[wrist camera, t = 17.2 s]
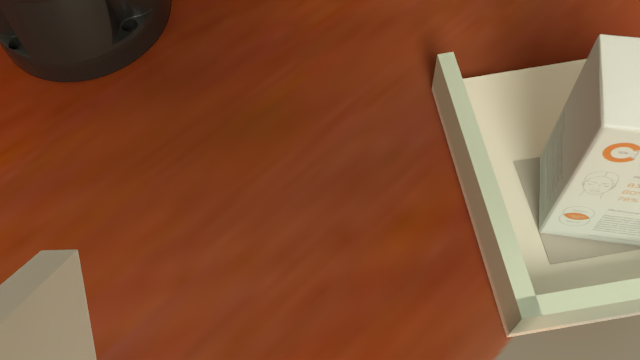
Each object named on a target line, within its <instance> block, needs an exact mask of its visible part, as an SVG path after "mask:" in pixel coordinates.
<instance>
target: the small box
mask: <svg viewBox="0 0 640 360" xmlns="http://www.w3.org/2000/svg"><path fill="white" fill-rule="evenodd" d="M539 232H540V233H546V234H553V235H561V236H568V237H575V238H583V239H591V240H598V241H605V242H613V243H621V244H629V245H637V246H640V38H639V37H628V36H616V35H606V34H599V36H598V38H597V40H596V41H595V43H594V45H593V47H592V49H591V52H590V54H589V56H588V58H587V60H586V62H585V64H584V66H583V68H582V70H581V72H580V74H579V76H578V78H577V80H576V83H575V85H574V87H573V89H572V91H571V93H570V95H569V97H568V99H567V101H566V103H565V105H564V107H563V109H562V111H561V113H560V115H559V117H558V120H557V122H556V124H555V126H554V128H553V130H552V132H551V134H550V136H549V139H548V141H547V143H546V145H545V147H544V149H543V151H542V153H541V155H540V196H539Z"/></svg>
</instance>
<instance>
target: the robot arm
mask: <svg viewBox="0 0 640 360" xmlns="http://www.w3.org/2000/svg"><path fill="white" fill-rule="evenodd" d="M170 8H171V0H0V45H1V46H2V48H3V49H4V50H5V52H6V53H7V54H8V55H9V57H10V58H11V59H12V61H13V62H14V63H15V64H16V65H17V66H18V67H20V68H21V69H22V70H24V71H25V72H27V73H29V74H31V75H33V76H35V77H38V78H41V79H45V80H50V81H57V82H76V81H85V80H90V79H94V78H98V77H101V76H105V75H107V74H110V73H112V72H115V71H117V70H119V69H121V68H123V67H125V66H127V65H128V64H130V63H132V62H133V61H135V60H136V59H137V58H139V57H140V56H141V55H143V54H144V53H145V52H146V51H147V50H148V49H149V48H150V47H151V46H152V45H153V44H154V43H155V42H156V40H157V39H158V38H159V36H160V35H161V33H162V32H163V30H164V28H165V26H166V24H167V21H168V18H169V14H170ZM0 360H97V359H96V354H95V348H94V342H93V336H92V330H91V324H90V318H89V312H88V307H87V301H86V295H85V289H84V283H83V277H82V271H81V265H80V260H79V254H78V250H44V251H40V252H39V253H38V254H37V255H35V256H34V257H33V258H32V259H31V260H30V261H28V262H27V263H26V264H25V265H24V266H22V267H21V268H20V269H19V270H18V271H16V272H15V273H14V274H13V275H12V276H11V277H9V278H8V279H7V280H6V281H5V282H3V283H2V284H1V285H0Z"/></svg>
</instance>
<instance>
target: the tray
mask: <svg viewBox="0 0 640 360" xmlns="http://www.w3.org/2000/svg"><path fill="white" fill-rule="evenodd" d="M586 60H587V59H583V60H576V61H570V62H564V63H558V64H552V65H545V66H539V67H533V68H527V69H521V70H514V71H508V72H502V73H496V74H490V75H483V76H477V77H471V78H465V79H462V76H461V73H460V70H459V67H458V64H457V61H456V58H455V55H454V52H450V53H443V54H437V60H436V66H435V72H434V78H433V84H432V93H433V96H434V100H435V103H436V106H437V110H438V113H439V116H440V120H441V123H442V126H443V129H444V133H445V136H446V139H447V143H448V146H449V149H450V153H451V156H452V159H453V162H454V166H455V169H456V172H457V176H458V179H459V182H460V186H461V189H462V192H463V195H464V199H465V202H466V205H467V209H468V212H469V215H470V219H471V222H472V225H473V228H474V232H475V235H476V238H477V242H478V245H479V248H480V251H481V255H482V258H483V261H484V265H485V268H486V271H487V275H488V278H489V281H490V284H491V288H492V291H493V294H494V298H495V301H496V304H497V308H498V311H499V314H500V317H501V321H502V324H503V327H504V331H505V334H506V337H512V336H517V335H523V334H529V333H535V332H540V331H547V330H552V329H558V328H564V327H570V326H576V325H581V324H588V323H593V322H599V321H605V320H611V319H617V318H622V317H628V316H634V315H640V246H637V245H629V244H621V243H613V242H605V241H598V240H591V239H583V238H575V237H568V236H561V235H553V234H546V233H540V232H539V196H540V155H541V153H542V151H543V149H544V147H545V145H546V143H547V141H548V139H549V136H550V134H551V132H552V130H553V128H554V126H555V124H556V122H557V120H558V117H559V115H560V113H561V111H562V109H563V107H564V105H565V103H566V101H567V99H568V97H569V95H570V93H571V91H572V89H573V87H574V85H575V83H576V80H577V78H578V76H579V74H580V72H581V70H582V68H583V66H584V64H585V62H586Z"/></svg>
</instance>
